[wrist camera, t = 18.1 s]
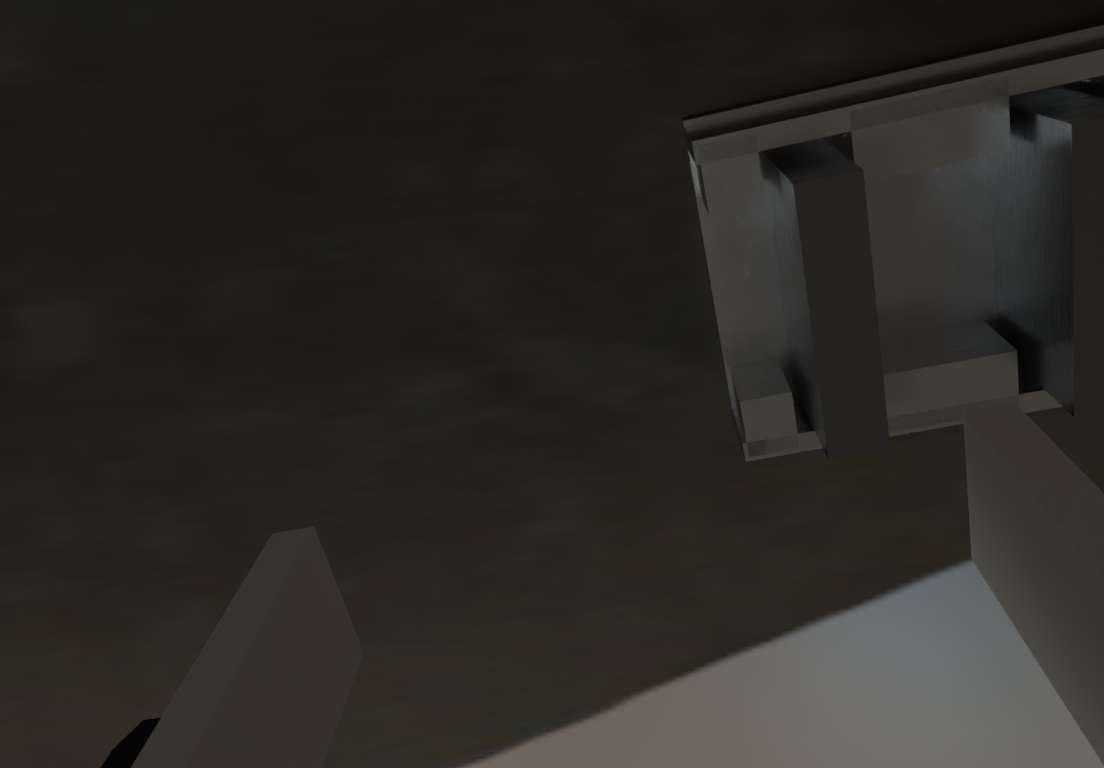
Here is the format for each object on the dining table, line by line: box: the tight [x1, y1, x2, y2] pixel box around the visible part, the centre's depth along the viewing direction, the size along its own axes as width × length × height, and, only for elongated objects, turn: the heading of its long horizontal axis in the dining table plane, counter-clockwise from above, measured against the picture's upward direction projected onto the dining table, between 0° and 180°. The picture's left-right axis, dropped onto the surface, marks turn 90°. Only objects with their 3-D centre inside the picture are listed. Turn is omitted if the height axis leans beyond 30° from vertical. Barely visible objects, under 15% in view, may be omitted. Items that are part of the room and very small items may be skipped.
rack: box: [682, 22, 1104, 462], centre depth 39 cm, size 29×16×9 cm, turn 103°
